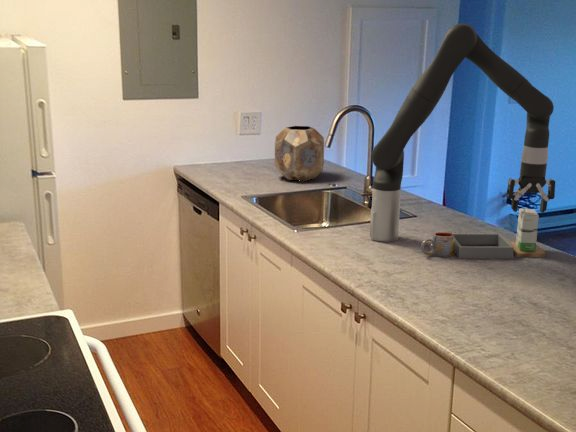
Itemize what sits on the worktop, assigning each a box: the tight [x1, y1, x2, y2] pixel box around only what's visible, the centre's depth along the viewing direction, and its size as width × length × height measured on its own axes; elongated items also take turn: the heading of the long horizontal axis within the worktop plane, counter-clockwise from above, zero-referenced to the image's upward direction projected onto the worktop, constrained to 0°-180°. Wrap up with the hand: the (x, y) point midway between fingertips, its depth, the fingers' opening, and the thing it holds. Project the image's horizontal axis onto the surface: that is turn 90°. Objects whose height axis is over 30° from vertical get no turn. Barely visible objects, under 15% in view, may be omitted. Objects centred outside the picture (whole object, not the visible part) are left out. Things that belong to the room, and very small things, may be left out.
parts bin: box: [452, 233, 514, 259], centre depth 222 cm, size 17×15×4 cm
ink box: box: [515, 207, 540, 251], centre depth 220 cm, size 9×5×12 cm, turn 171°
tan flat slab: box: [508, 241, 547, 258], centre depth 222 cm, size 9×12×1 cm
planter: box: [274, 125, 325, 182], centre depth 322 cm, size 22×24×24 cm
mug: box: [420, 232, 455, 258], centre depth 217 cm, size 12×7×7 cm, turn 114°
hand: (528, 211), depth 219 cm, fingers open, 8 cm apart
